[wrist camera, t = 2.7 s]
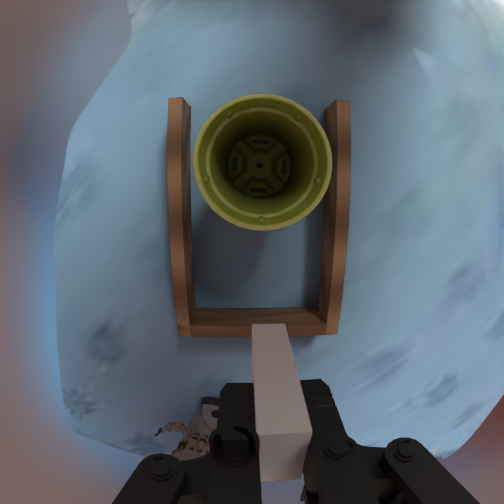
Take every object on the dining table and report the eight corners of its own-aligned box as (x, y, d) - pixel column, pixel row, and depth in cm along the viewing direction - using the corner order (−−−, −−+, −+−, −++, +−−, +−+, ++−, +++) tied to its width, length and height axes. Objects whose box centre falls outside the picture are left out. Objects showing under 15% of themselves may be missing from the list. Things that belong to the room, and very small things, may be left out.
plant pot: (208, 214, 28) (192, 230, 20) (210, 118, 26) (194, 94, 17) (305, 215, 28) (329, 232, 20) (307, 120, 26) (332, 98, 18)
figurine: (159, 390, 34) (127, 481, 19) (247, 397, 34) (248, 496, 19) (168, 432, 36) (147, 513, 21) (245, 439, 36) (245, 525, 22)
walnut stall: (178, 108, 25) (168, 98, 21) (336, 110, 26) (349, 101, 22) (186, 317, 31) (178, 335, 27) (327, 316, 31) (337, 334, 27)
